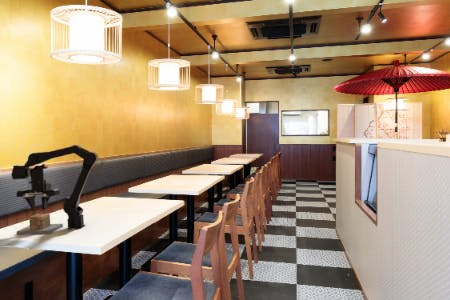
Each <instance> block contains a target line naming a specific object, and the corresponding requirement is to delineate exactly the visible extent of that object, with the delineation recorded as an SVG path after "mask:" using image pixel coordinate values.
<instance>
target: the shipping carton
mask: <svg viewBox="0 0 450 300" xmlns="http://www.w3.org/2000/svg"><path fill="white" fill-rule="evenodd" d="M28 220H29V226H30V229H44V228H46V227H48V226H50V224H51V214H50V213H36V214H33V215H31V216H28Z"/></svg>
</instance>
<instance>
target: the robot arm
mask: <svg viewBox="0 0 450 300" xmlns="http://www.w3.org/2000/svg"><path fill="white" fill-rule="evenodd" d="M72 154H73V155H76V156H78V157H79V158H81V159H83V160H82V166H81V167H82V168H81V171H80V174H79V175H78V178H77V180H76V183H75V185H74V188H73V190H72V192H71V195H68V196H66V197H65V200H64V203H63V204H62V209H63V211H64V213H65V214H66V215H67V228H66V229H67V230H81V229H83V228H84V227H85V226H86V224H85V223H84V222H85V220H84V214H83V213H84V208H82V207H81V206H80V201H81V194H82V192H83V190H84V188H85V185H86V183H87V180H88V179H89V178H88V177H89V175H90V172H91V170H92V169H93V167H95V165H96V164H97V162H98V161H99V155H98V154H97V153H96V152H95V151H90V150H88V149H85V148H83V147H81V146H80V145H78V144H75V145H71V146H67V147H63V148H59V149H58V148H57V149H56V150H50V151H41V152H40V151H39V152H32V153H30V154H29V155H28V156H27V160H26V162H25V164H23V165H19V164H18V165H13V166H12V170H11V177H12V180H14V181H15V180H27V179H28V178H29V177H30V181H29V182H28V184H30V189H29V188H27V189H20V190H17V191H16V193H15V197H16V198H22V199H24V200H25V201H26V202H27V204H28V205H29V206H30V208H31V209H32V211H36V201H35V200H36V196H37V195H43V196H41V206H42V210H43V211H46V209H47V206H48V203H49V200H50V198H52V197H54V196H58V195H60V193H61V192H60V189H59V188H52V184H51V183H49V182H47V180H46V179H45V176H44V175H45V173H44V172H45V171H44V170H47V169H48V168H49V166H47V165H46V164H45V162H47V161H48V162H49V161H50V160H52V159H56V158H60V157H64V156H68V155H72Z"/></svg>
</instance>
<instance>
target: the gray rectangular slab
mask: <svg viewBox="0 0 450 300" xmlns="http://www.w3.org/2000/svg"><path fill="white" fill-rule="evenodd" d="M63 226H64V224H63V223H50V226H48V227H46V228H44V229H30V225H28V226H25V227H23V228H21V229H19V230H16V235H43V234H44V235H46V234H48V235H49V234H52V233H54V232H56V231H58V230H59V229H62V228H63Z"/></svg>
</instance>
